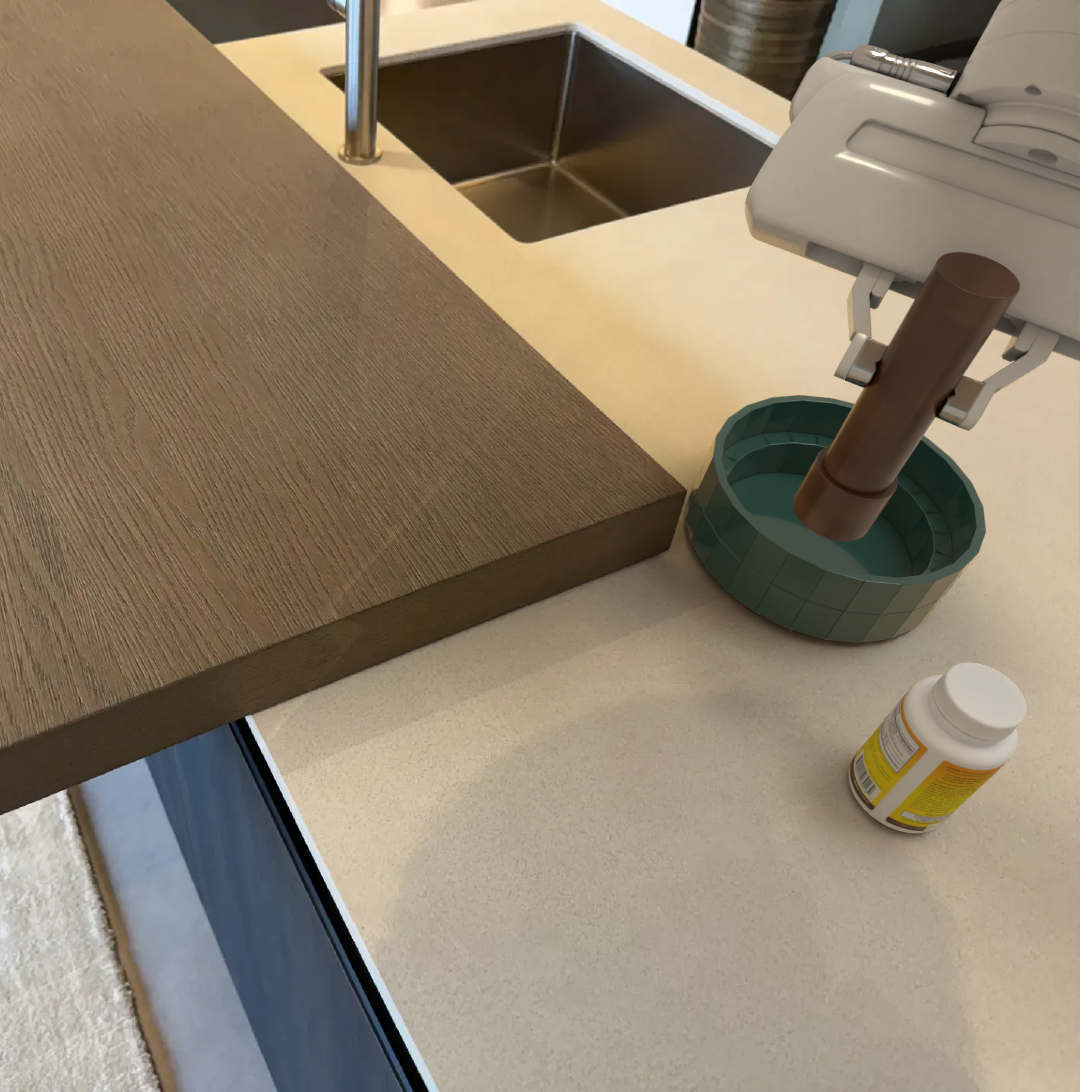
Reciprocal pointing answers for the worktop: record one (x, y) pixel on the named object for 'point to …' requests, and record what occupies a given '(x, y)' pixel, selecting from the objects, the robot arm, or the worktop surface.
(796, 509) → the brown flanged cylinder
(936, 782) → the supplement bottle
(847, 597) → the bowl
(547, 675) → the worktop surface
